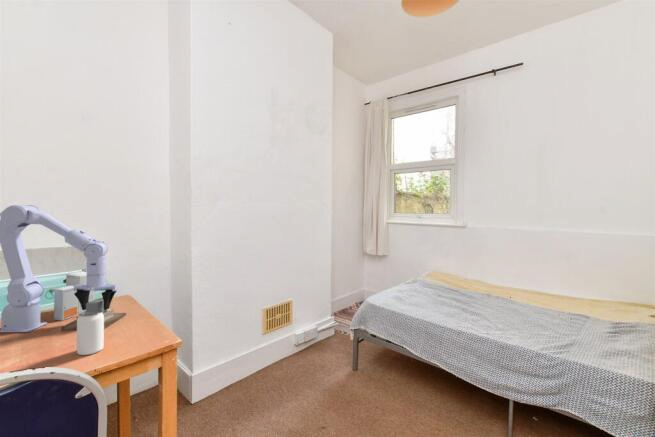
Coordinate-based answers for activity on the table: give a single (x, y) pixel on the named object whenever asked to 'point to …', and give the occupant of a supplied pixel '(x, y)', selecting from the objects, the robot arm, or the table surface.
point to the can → (90, 332)
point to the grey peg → (95, 305)
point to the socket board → (108, 319)
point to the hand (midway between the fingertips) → (95, 309)
